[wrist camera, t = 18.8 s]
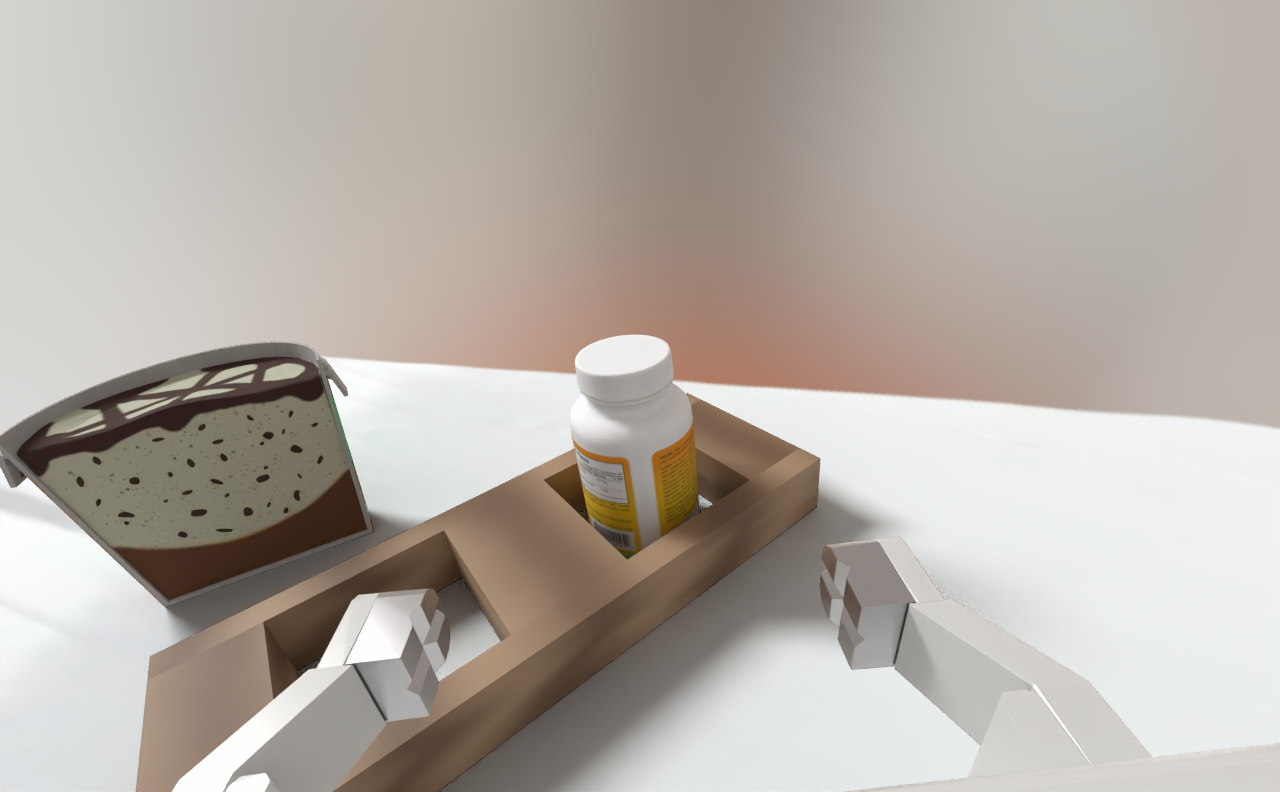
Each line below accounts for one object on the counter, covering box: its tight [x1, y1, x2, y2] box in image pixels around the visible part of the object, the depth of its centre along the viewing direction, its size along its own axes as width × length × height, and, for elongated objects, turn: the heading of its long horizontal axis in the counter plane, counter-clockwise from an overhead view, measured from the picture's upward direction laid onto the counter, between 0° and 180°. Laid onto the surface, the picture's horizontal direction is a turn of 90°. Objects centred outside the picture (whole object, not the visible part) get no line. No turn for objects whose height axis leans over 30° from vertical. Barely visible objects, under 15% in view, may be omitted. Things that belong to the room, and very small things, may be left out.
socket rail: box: [136, 393, 820, 792], centre depth 23 cm, size 26×9×3 cm, turn 127°
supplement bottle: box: [570, 335, 699, 560], centre depth 24 cm, size 5×5×10 cm
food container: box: [0, 342, 373, 607], centre depth 27 cm, size 12×6×10 cm, turn 116°
